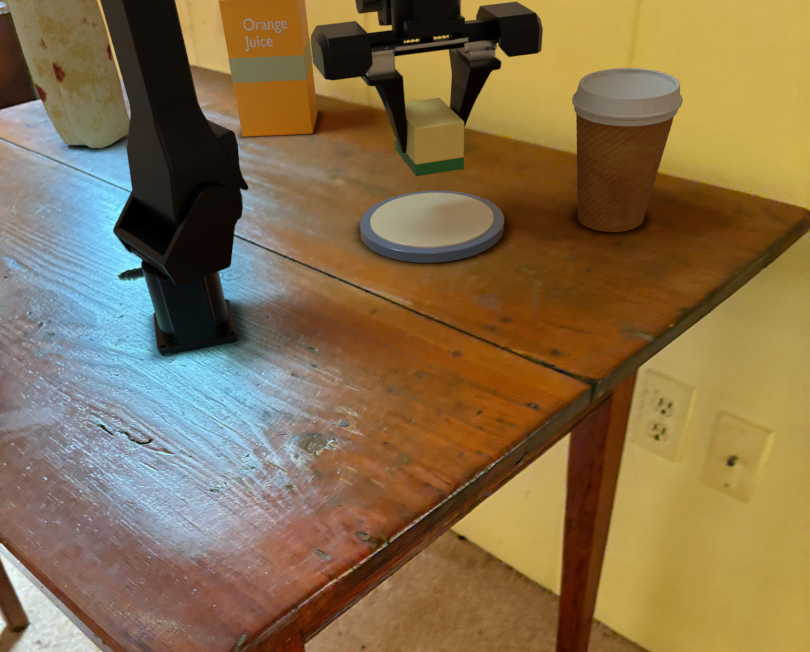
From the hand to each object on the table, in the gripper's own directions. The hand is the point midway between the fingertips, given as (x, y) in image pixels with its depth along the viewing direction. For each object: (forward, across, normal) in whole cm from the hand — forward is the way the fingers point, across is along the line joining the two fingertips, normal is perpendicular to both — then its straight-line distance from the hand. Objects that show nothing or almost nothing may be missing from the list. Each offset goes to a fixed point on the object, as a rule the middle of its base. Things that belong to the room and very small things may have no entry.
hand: (428, 147), depth 73 cm
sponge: (+1, 0, 0) cm, 1 cm away
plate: (+8, 0, 0) cm, 8 cm away
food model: (+8, +32, -39) cm, 51 cm away
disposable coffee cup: (+8, -17, +4) cm, 19 cm away
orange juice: (+8, +9, -36) cm, 38 cm away
